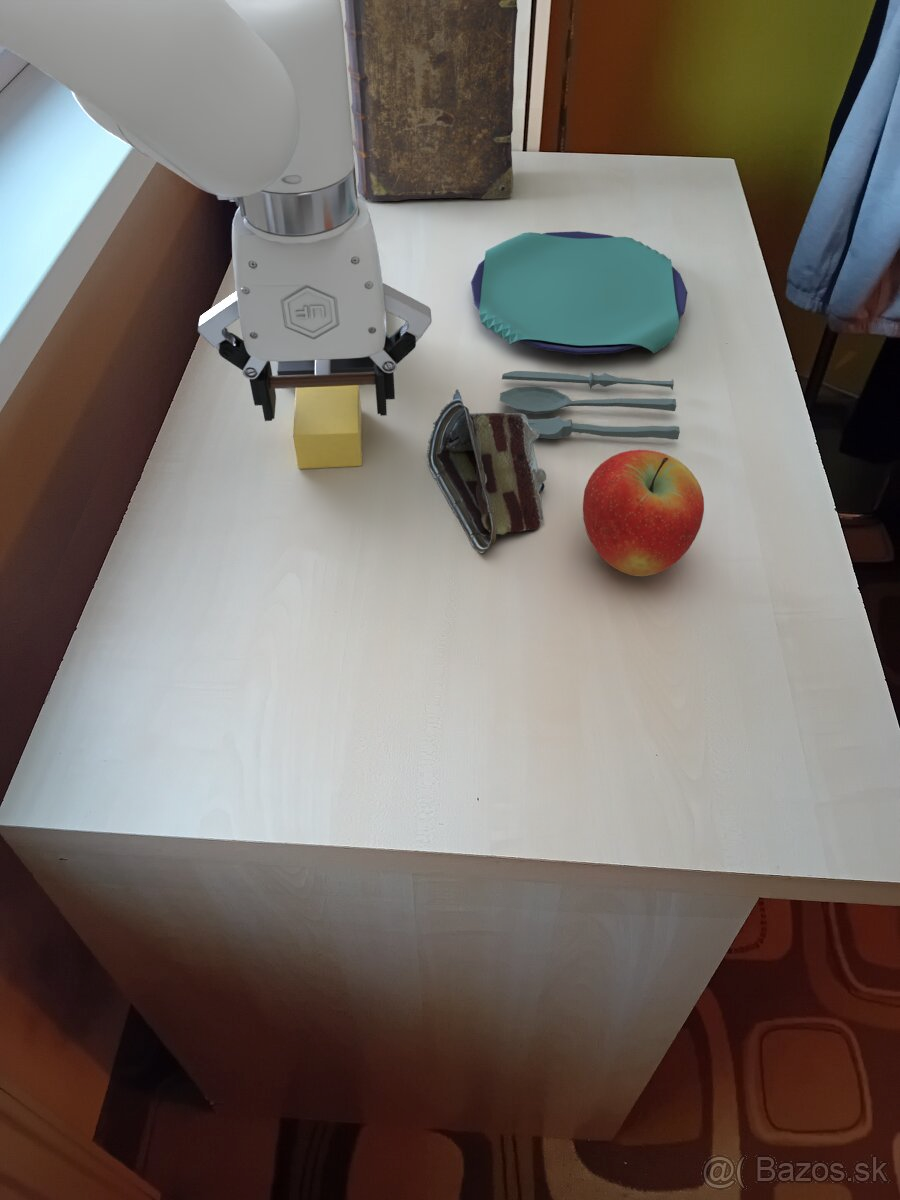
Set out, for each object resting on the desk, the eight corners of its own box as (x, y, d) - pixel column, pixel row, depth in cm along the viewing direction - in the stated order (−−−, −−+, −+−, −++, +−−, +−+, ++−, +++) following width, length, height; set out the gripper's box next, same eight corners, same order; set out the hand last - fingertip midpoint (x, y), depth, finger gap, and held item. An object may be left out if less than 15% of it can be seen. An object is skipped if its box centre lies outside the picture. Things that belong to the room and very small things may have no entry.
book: (355, 203, 102) (333, -73, 83) (359, 171, 107) (339, -98, 88) (512, 203, 102) (527, -74, 83) (510, 171, 107) (522, -99, 88)
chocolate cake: (574, 546, 71) (566, 381, 70) (491, 552, 68) (481, 380, 67) (509, 548, 80) (500, 401, 79) (432, 554, 76) (422, 401, 76)
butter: (298, 469, 76) (292, 435, 73) (301, 412, 80) (296, 378, 78) (362, 466, 76) (358, 432, 73) (361, 409, 81) (358, 376, 78)
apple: (626, 501, 74) (646, 396, 66) (711, 559, 70) (743, 454, 62) (552, 554, 70) (565, 449, 62) (638, 618, 66) (662, 514, 59)
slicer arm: (376, 393, 74) (374, 371, 72) (271, 398, 74) (267, 375, 72) (371, 257, 83) (369, 233, 81) (277, 261, 82) (273, 237, 80)
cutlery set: (676, 253, 96) (680, 231, 94) (701, 453, 77) (707, 431, 75) (477, 244, 97) (478, 222, 95) (453, 440, 78) (453, 417, 76)
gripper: (155, 228, 60) (210, 444, 73) (436, 218, 60) (439, 433, 74) (170, 170, 64) (219, 382, 78) (430, 160, 65) (434, 372, 79)
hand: (326, 406), depth 76 cm, fingers closed on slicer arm, 8 cm apart
